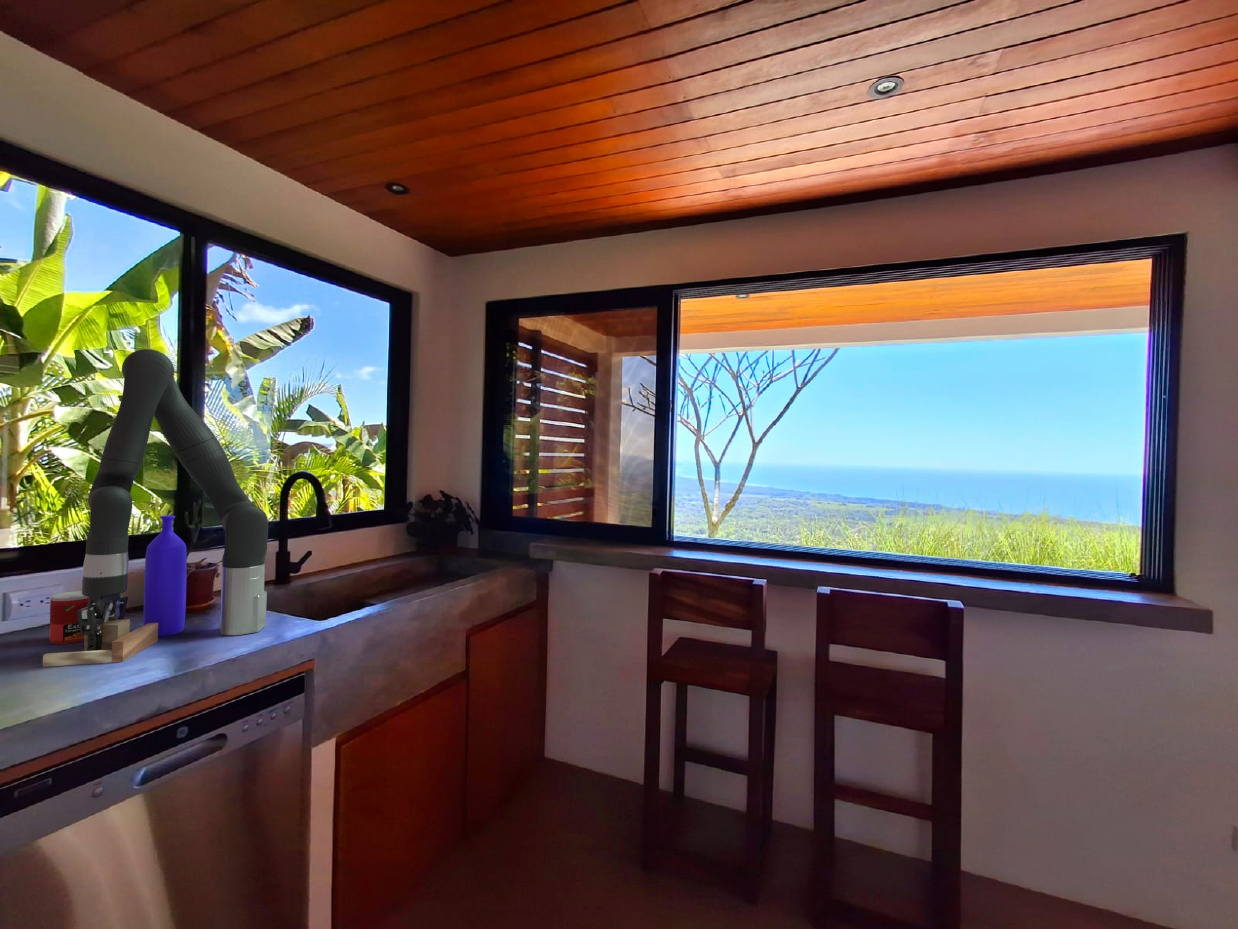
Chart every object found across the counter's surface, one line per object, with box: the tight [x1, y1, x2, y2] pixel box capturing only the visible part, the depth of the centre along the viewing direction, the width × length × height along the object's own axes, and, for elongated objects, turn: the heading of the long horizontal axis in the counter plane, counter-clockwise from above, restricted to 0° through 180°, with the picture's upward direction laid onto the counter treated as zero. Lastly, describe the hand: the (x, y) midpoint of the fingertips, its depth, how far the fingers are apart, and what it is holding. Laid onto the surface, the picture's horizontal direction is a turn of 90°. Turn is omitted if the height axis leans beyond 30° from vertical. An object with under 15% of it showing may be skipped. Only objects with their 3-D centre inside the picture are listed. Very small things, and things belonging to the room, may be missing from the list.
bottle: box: [143, 515, 188, 638], centre depth 138 cm, size 8×8×30 cm
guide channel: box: [42, 623, 159, 668], centre depth 123 cm, size 14×14×4 cm
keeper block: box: [83, 618, 131, 651], centre depth 123 cm, size 6×4×7 cm
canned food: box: [49, 590, 89, 645], centre depth 131 cm, size 8×8×11 cm
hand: (101, 647), depth 122 cm, fingers closed on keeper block, 4 cm apart
